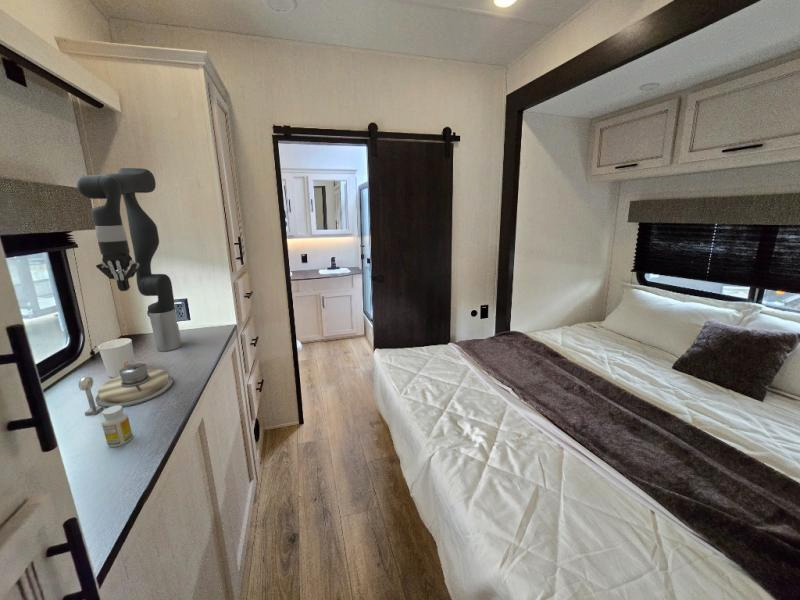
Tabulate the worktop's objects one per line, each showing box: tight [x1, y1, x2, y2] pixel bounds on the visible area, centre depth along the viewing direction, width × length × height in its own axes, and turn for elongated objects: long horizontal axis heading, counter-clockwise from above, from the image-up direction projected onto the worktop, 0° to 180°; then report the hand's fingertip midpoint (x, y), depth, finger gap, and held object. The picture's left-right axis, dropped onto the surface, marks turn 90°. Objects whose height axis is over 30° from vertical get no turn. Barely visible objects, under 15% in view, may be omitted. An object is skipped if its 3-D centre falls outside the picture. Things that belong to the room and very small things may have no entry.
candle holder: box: [97, 337, 136, 379], centre depth 128 cm, size 10×10×12 cm
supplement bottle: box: [101, 405, 133, 448], centre depth 91 cm, size 5×5×10 cm
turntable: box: [97, 361, 169, 403], centre depth 116 cm, size 20×19×6 cm
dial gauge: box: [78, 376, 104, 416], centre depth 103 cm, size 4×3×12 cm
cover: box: [119, 363, 150, 388], centre depth 115 cm, size 8×8×5 cm
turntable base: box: [95, 374, 174, 409], centre depth 117 cm, size 21×21×1 cm
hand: (124, 290), depth 117 cm, fingers closed
